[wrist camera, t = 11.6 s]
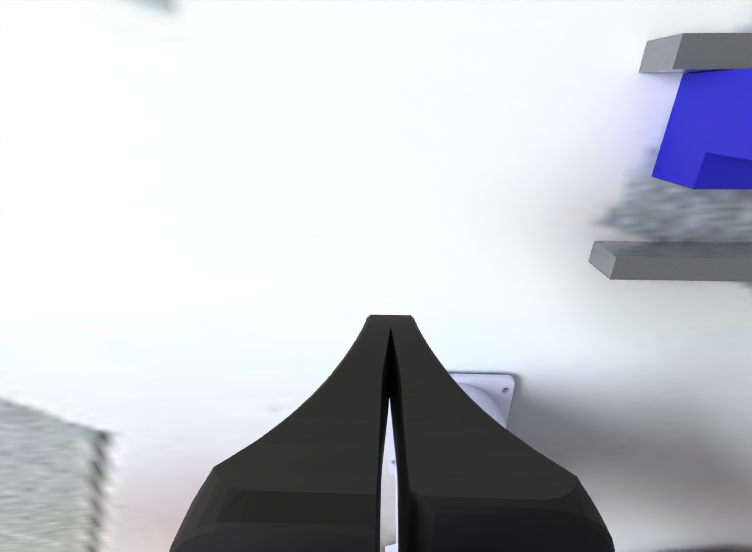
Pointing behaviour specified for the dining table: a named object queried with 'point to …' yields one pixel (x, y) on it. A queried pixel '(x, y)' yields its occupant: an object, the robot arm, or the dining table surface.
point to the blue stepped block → (709, 132)
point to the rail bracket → (683, 256)
